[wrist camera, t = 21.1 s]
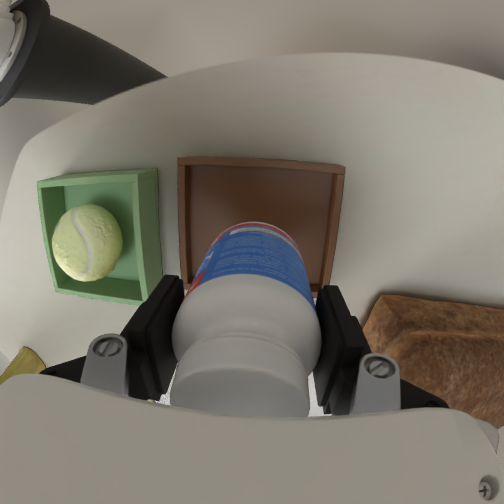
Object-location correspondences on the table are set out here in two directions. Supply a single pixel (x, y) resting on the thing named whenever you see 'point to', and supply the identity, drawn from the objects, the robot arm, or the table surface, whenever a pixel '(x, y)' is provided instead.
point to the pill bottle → (247, 328)
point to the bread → (444, 350)
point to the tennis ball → (87, 242)
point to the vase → (23, 365)
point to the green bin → (129, 220)
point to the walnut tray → (260, 207)
